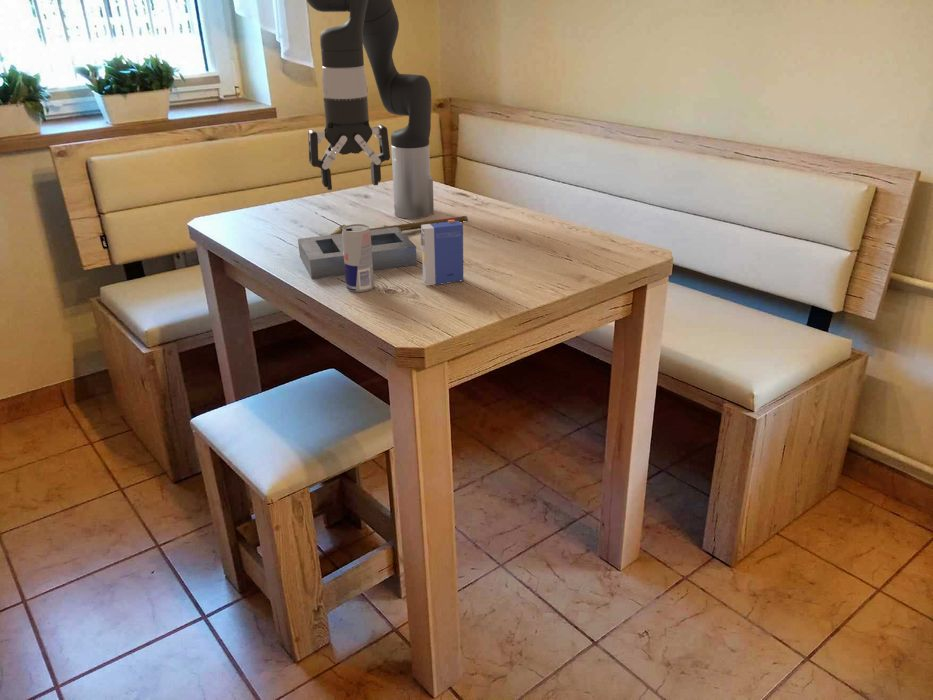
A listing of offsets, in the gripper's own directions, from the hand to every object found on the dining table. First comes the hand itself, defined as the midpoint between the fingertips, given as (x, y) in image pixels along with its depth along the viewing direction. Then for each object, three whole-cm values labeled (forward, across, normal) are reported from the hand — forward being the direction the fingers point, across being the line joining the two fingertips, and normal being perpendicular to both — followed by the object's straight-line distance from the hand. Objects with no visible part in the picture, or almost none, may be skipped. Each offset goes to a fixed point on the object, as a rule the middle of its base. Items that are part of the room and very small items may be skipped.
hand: (352, 186), depth 137 cm
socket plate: (+20, -3, -15) cm, 25 cm away
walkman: (+20, -16, +3) cm, 26 cm away
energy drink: (+20, 0, 0) cm, 20 cm away
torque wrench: (+20, -17, -29) cm, 40 cm away
